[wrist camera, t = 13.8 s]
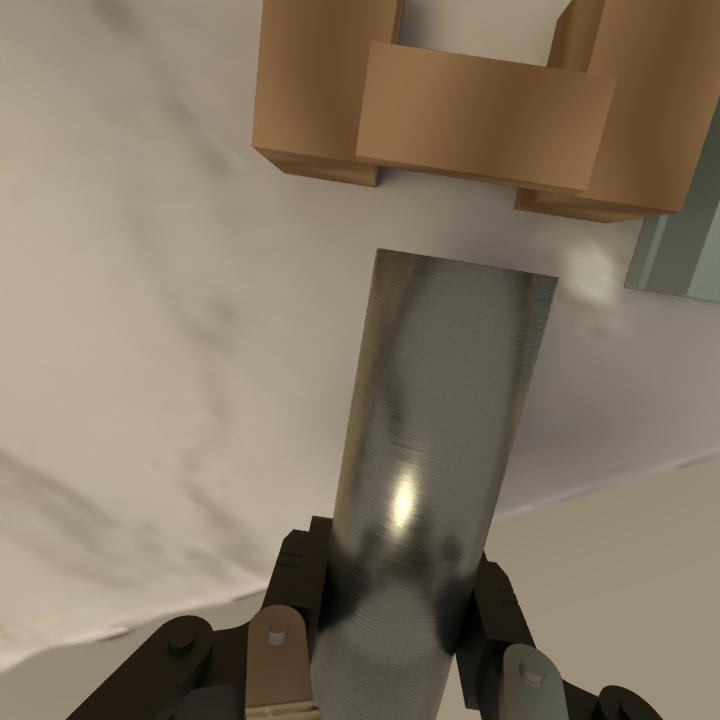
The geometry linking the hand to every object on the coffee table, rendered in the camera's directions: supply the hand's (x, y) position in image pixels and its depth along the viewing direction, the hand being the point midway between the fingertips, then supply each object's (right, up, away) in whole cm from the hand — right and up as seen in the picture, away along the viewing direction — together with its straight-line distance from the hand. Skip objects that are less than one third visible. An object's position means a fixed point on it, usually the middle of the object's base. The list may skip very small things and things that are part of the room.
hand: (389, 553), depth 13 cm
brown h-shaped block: (+3, +16, +4) cm, 17 cm away
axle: (0, +2, -2) cm, 3 cm away
